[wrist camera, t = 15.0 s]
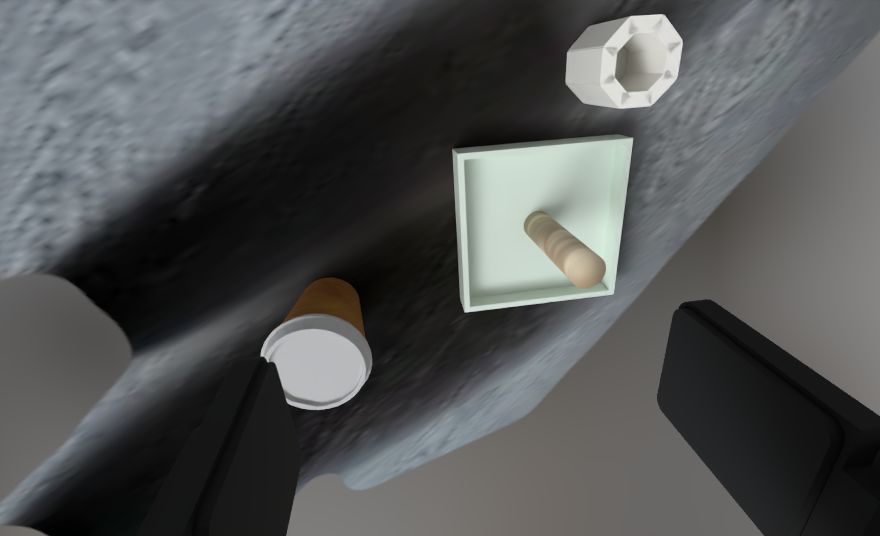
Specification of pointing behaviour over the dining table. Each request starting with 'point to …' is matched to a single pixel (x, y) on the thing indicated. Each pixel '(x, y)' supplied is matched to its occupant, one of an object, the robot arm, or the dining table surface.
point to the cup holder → (624, 61)
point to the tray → (529, 190)
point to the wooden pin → (565, 250)
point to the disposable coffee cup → (321, 347)
